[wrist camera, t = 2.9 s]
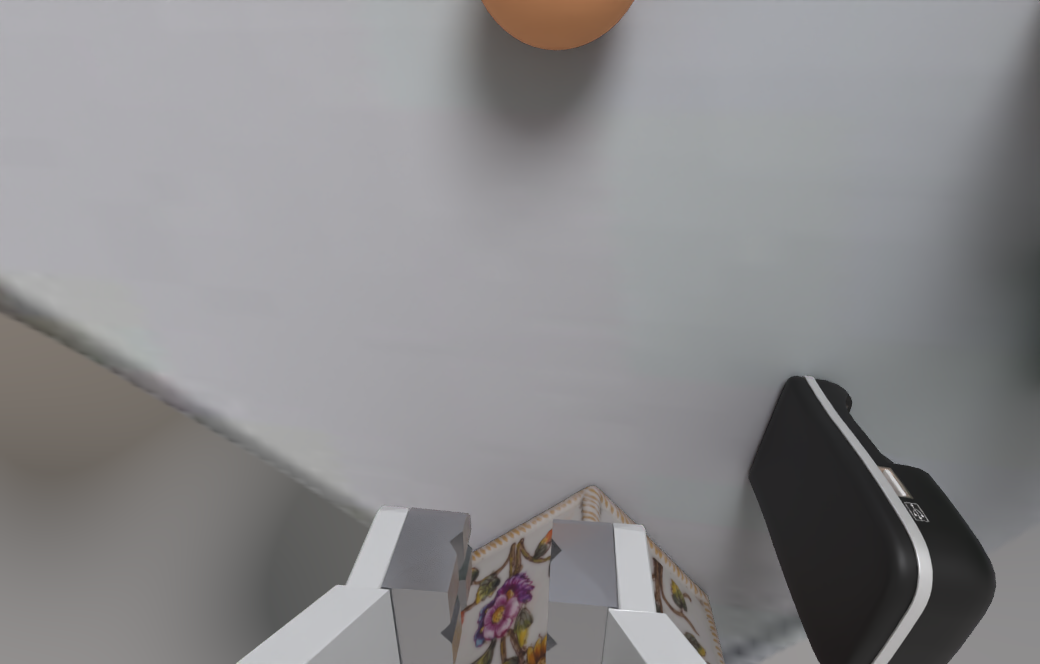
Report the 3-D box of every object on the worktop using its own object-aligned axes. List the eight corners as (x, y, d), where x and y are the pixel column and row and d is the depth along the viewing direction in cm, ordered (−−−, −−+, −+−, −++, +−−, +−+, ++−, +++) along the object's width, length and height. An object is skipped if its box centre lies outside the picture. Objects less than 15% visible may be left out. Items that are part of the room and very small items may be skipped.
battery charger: (815, 489, 30) (935, 720, 20) (743, 478, 30) (825, 702, 20) (869, 378, 27) (1046, 587, 17) (788, 366, 27) (913, 566, 17)
